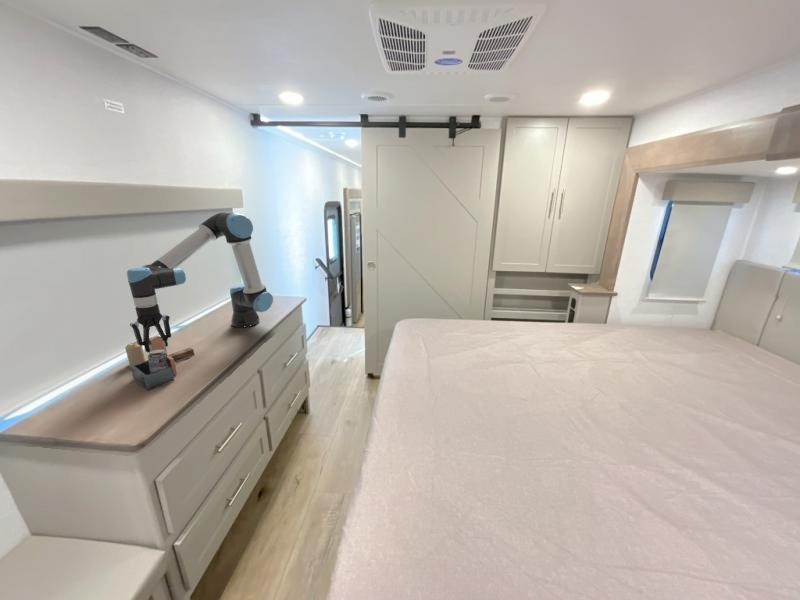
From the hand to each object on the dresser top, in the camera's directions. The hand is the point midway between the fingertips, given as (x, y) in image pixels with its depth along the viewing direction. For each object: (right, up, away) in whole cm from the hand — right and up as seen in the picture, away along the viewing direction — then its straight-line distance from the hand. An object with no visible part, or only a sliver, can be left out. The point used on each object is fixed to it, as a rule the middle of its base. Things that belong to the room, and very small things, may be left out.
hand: (158, 355), depth 135 cm
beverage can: (+7, -8, -8) cm, 13 cm away
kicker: (+5, -5, -2) cm, 7 cm away
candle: (-11, -4, +3) cm, 12 cm away
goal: (+6, -8, -9) cm, 13 cm away
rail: (+3, -3, +5) cm, 7 cm away
